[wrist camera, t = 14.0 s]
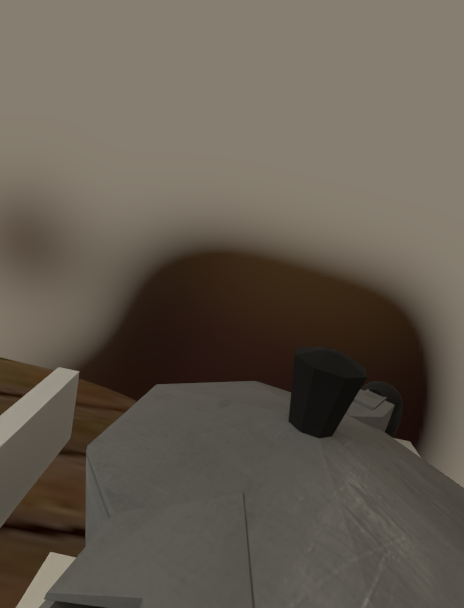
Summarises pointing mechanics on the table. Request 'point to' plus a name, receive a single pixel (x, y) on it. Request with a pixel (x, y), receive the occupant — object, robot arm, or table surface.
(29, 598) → the placemat
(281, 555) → the coffeepot
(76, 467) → the table surface
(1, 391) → the table surface
